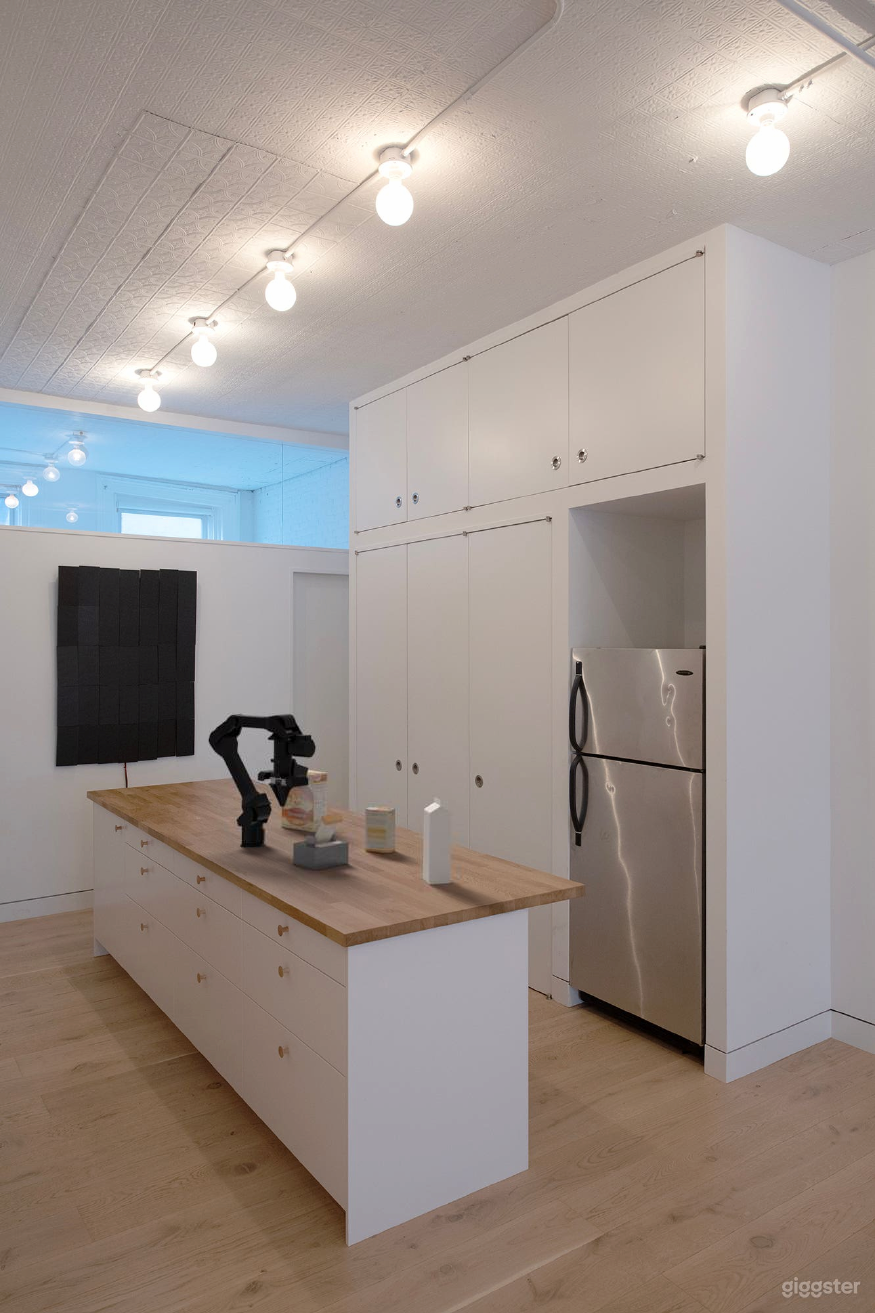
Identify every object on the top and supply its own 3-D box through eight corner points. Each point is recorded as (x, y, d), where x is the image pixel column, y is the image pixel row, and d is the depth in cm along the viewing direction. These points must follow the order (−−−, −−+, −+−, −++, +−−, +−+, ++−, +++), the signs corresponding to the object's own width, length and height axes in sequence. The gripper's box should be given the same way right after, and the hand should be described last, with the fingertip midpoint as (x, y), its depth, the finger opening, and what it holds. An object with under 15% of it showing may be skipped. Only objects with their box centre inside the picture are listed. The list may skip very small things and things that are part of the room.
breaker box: (293, 864, 251) (293, 834, 251) (326, 857, 260) (326, 829, 260) (315, 870, 245) (315, 840, 244) (348, 863, 253) (348, 834, 253)
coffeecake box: (280, 827, 304) (281, 770, 304) (295, 823, 310) (295, 768, 309) (312, 832, 295) (313, 774, 295) (327, 829, 301) (327, 771, 301)
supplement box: (395, 851, 270) (396, 808, 270) (388, 854, 265) (388, 810, 265) (372, 848, 273) (372, 805, 273) (364, 851, 269) (364, 808, 269)
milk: (429, 885, 231) (429, 801, 231) (422, 879, 237) (423, 797, 237) (451, 883, 233) (451, 800, 233) (444, 877, 239) (444, 796, 239)
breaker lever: (310, 838, 251) (322, 815, 247) (327, 835, 255) (339, 812, 251) (314, 844, 249) (326, 821, 246) (331, 841, 254) (343, 818, 250)
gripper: (323, 756, 269) (322, 807, 270) (286, 750, 282) (285, 799, 283) (293, 759, 261) (292, 812, 262) (256, 753, 274) (256, 803, 274)
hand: (282, 806), depth 270 cm, fingers closed
